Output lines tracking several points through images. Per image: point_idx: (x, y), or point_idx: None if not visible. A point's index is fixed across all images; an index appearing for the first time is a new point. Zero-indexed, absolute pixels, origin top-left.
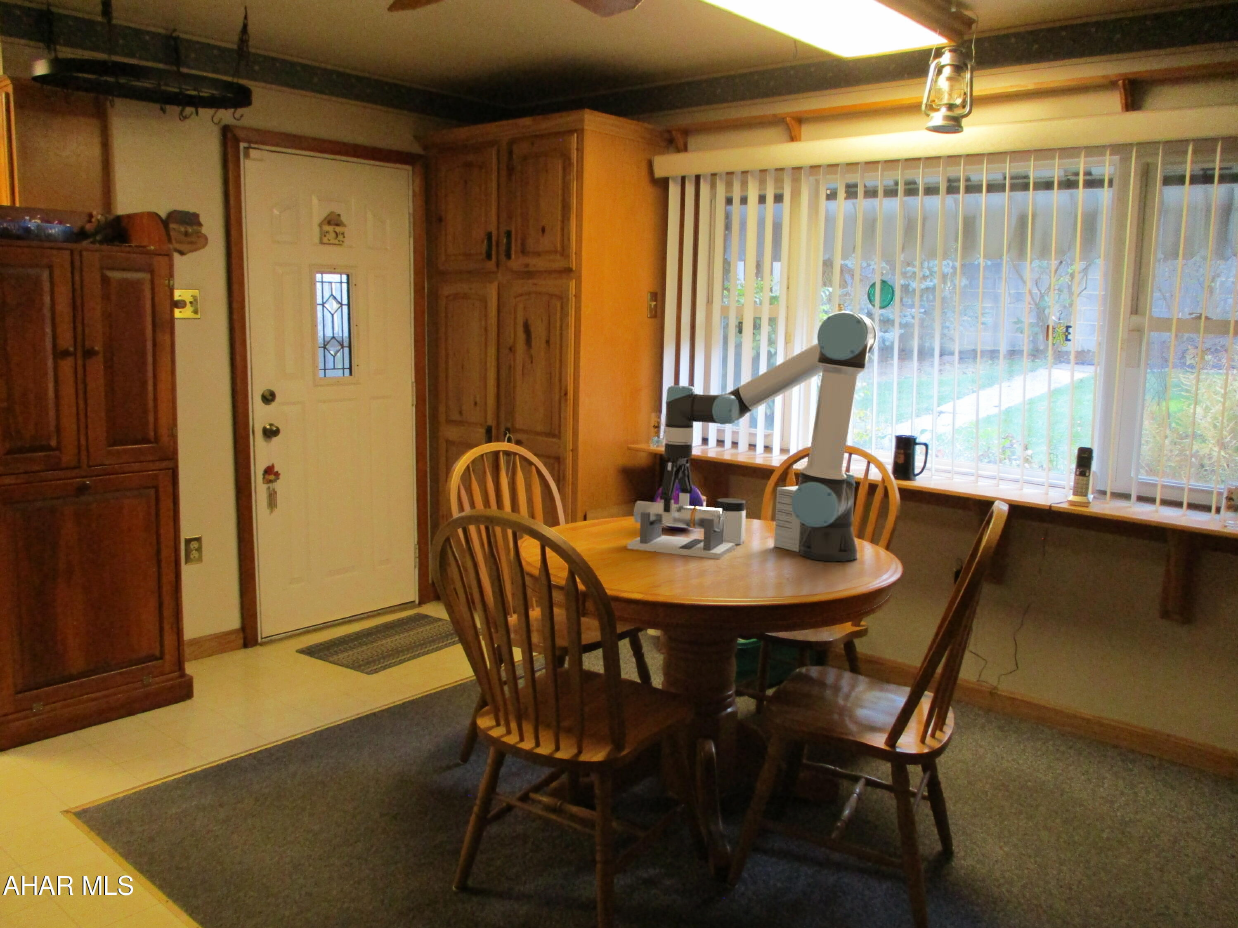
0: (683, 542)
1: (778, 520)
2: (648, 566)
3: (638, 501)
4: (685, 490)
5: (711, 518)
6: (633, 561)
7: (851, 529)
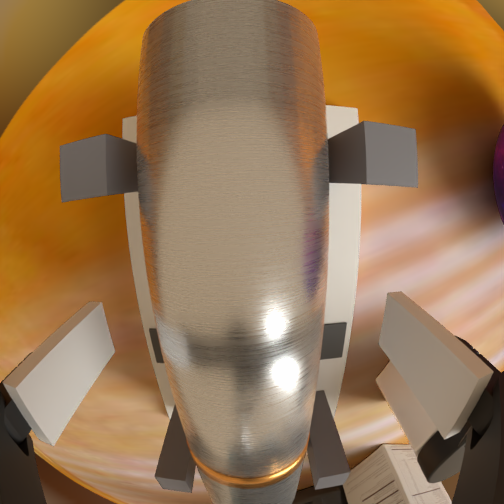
0: None
1: (393, 491)
2: (6, 290)
3: (207, 4)
4: (485, 423)
5: (177, 488)
6: (13, 237)
7: None
